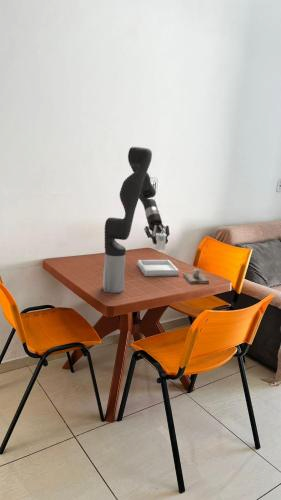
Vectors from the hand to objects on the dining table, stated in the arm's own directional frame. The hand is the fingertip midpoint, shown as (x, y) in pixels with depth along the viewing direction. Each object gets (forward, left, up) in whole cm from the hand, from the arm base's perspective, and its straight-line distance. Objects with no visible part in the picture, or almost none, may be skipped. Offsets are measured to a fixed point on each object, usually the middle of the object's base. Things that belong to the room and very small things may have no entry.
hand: (161, 243), depth 201 cm
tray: (0, +2, -15) cm, 16 cm away
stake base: (+16, -14, -15) cm, 26 cm away
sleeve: (0, +2, -3) cm, 4 cm away
